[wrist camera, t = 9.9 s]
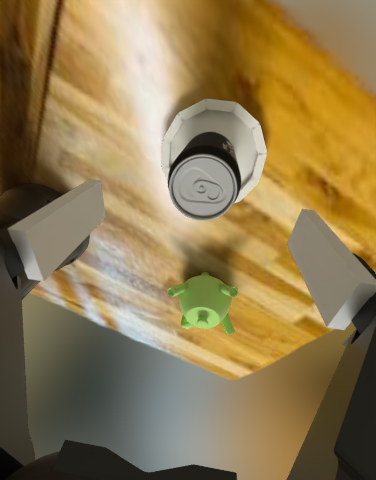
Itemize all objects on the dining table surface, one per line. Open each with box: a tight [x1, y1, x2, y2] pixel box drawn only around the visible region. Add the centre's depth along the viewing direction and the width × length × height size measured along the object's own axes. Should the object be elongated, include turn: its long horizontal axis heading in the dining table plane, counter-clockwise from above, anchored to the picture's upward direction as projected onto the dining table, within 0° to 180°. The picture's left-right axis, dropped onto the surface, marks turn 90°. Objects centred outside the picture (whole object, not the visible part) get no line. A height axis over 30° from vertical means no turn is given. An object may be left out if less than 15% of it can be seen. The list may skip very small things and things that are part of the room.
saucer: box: [161, 98, 267, 203], centre depth 28 cm, size 13×13×2 cm
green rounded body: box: [167, 272, 238, 335], centre depth 38 cm, size 11×11×8 cm
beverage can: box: [168, 132, 241, 221], centre depth 23 cm, size 7×7×12 cm
